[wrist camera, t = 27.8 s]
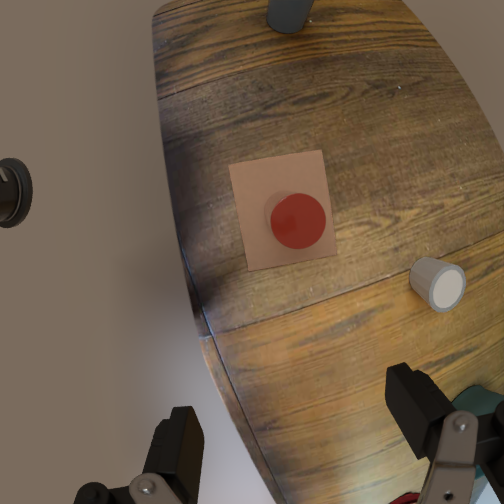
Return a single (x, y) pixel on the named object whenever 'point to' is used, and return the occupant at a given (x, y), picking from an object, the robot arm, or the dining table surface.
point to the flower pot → (478, 407)
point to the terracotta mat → (257, 193)
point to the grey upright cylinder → (288, 14)
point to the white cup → (438, 283)
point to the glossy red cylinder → (295, 218)
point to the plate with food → (407, 499)
